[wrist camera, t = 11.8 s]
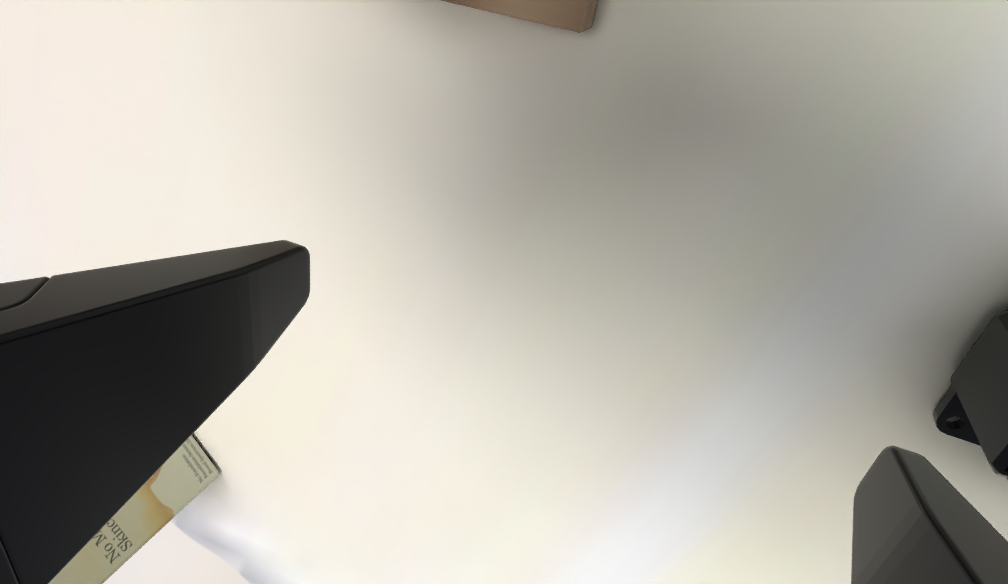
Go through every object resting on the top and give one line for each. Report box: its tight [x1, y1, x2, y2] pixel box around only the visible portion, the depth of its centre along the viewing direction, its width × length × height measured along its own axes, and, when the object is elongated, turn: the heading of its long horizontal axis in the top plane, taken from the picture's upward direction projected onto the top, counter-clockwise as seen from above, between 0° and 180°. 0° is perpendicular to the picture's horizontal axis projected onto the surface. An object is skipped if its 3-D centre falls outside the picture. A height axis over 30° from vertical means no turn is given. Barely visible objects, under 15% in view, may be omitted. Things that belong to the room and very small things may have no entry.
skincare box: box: [49, 435, 219, 584], centre depth 31 cm, size 6×4×12 cm
